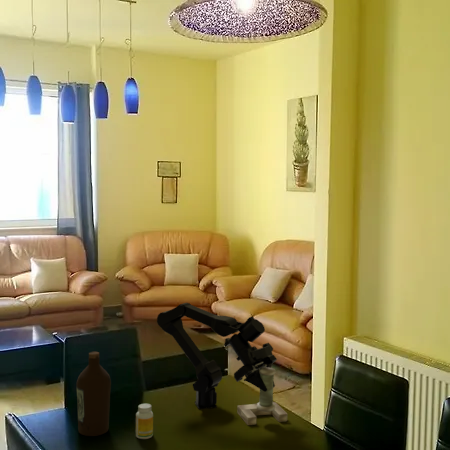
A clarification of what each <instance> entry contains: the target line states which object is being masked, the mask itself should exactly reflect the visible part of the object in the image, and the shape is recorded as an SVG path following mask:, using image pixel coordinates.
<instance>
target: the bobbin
mask: <svg viewBox="0 0 450 450" xmlns="http://www.w3.org/2000/svg"><path fill="white" fill-rule="evenodd" d="M259 373H260V377H261V379H262V381H263V382H264V384H265V386H266V388H267V391H266V392H264V391H263V390H261V389H259V400H258V401H259V402H257V403H256V404H257V409H258V410H260V411H266V412H269V411H273V410H274V409H275V404H274V403H273V402H274V401H273V400H274V397H273V396H274V388H273V381H274V378H275V374H276V369H275V368H272V367H271V368H269V367H263V368H260V369H259Z"/></svg>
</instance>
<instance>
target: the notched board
mask: <svg viewBox="0 0 450 450" xmlns="http://www.w3.org/2000/svg"><path fill="white" fill-rule="evenodd" d="M273 403H274V404H275V409H274V410H273V411H269V412H266V411H260V410H258V409H257V403H252V404H251V403H250V404H241V405H239V404H238V405H236V406H237V408H236V410H237V412H236V413H237V414H238V415H239V417H240V418H241V419H242V420H243V421H244V422H245V424H246V426H253V425H257V416H265V415H271V416H272V417H273V418H274V419H275V420H276V421H278V423H283V422H287V421H288V413H287V411H285V410H284V409H283V408H282V406H280V405H279V404H278V403H277V402H276V401H273Z"/></svg>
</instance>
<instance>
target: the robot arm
mask: <svg viewBox="0 0 450 450" xmlns="http://www.w3.org/2000/svg"><path fill="white" fill-rule="evenodd" d="M184 317H187V318H188V319H191V320H194V321H196V322H197V323H200V324H201V325H205V326H207V327H208V328H211V330H212V331H213V333H215V334H216V335H218V336H220V337H223V338H225V339H224V345H223V346H224V347H231V348H232V350H233V351H234V353H235V354H236V356H237V357H236V360H237V362H239V361H240V362H241V363H242V366H240V367H239V369H237V370H236V371H235V372H234V373H233V378H234V379H235V381H236V382H237V383H238V382H240V381H242V380H243V382H248V383H249V384H251V385H253V386H255V387H256V388H258V389H259V390H260V389H261V390H263V391H264V392H266V391H267V388H266V386H265V384H264V382H263V381H262V379H261V377H260V373H259V369H260V368H263V367H269V368H272V366H273V364H274V363H275V362H276V361H277V360H278V359H277V358H276V356H275V354H273V351H274V347H273V346H272V345H271V344H270V343H269V342H267V343H264V344H262V347H261V348H257V347H256V346H255V345H253V346H252V345H251V344H250V343H253V342H254V341H256V340H257V339H258V338H260V336H261V335H262V334H264V333H265V331H266V328H265V326H264V324H263V323H262V322H261V321H259V320H258V319H256V318H254V316H250V317H248V318H247V319H246V321H245V322H241V321H238V320H237V319H236V318H235V317H233V316H227V315H218V314H214V313H212V312H210V311H207V310H205V309H202V308H199V307H197V306H195V305H192V303H191V304H190V302H183V303H180V304H178V305H177V306H175V307H174V308H172V309H168V310H166V311H163V312H160V313H158V315H157V318H156V324H157V325H158V326H159V328H161V330H162V331H163V332H165V333H167V334H169V335H170V336H172V337H173V339H174V340H175V342H176V343H177V345H178V346H179V348H180V349H181V350H182V351H183V353H184V355H185V356H186V357H187V358H188V360H189V362H191V364H192V366H193V367H194V369H195V375H196V378H197V380H196V381H195V382H193V384H192V388H193V391H195V401H194V404H195V405H196V407H197V409H198V410H203V409H214V408H217V402H218V401H217V399H218V397H217V392H216V387H218V386H219V383H220V382H221V381H222V379H223V372H222V371H221V370H222V368H221V367H220V366H219V365H218V363H217V361H215V360H214V359H212V360H210V361H209V359H207V358H206V357H205V355H204V354H203V353H202V351H201V350H200V349H199V348H198V346H197V345H196V344H195V342H194V340H193V339H192V338H191V337H190V335H189V333H188V332H187V331H186V330H185V328H184V325H183V324H184V323H183V320H182V318H184ZM229 336H230V337H229ZM226 337H227V338H226ZM244 377H245V378H244ZM243 378H244V379H243ZM275 384H276V383H275V382H274V380H273V389H274V388H275V386H276V385H275Z"/></svg>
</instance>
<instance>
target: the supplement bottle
mask: <svg viewBox="0 0 450 450" xmlns="http://www.w3.org/2000/svg"><path fill="white" fill-rule="evenodd" d="M137 408H138V409H137V412H136V413H135V437H136V438H138V439H140V440H148V439H150V438H152V437H153V435H154V413H153V411H152V404H150V403H141V404H139V405H138V406H137Z"/></svg>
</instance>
